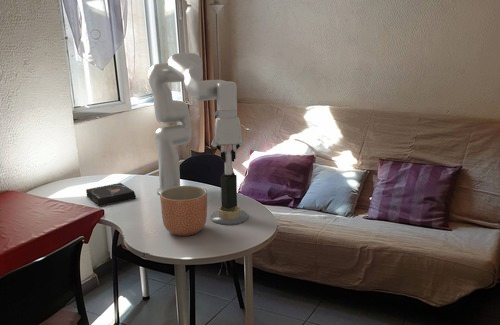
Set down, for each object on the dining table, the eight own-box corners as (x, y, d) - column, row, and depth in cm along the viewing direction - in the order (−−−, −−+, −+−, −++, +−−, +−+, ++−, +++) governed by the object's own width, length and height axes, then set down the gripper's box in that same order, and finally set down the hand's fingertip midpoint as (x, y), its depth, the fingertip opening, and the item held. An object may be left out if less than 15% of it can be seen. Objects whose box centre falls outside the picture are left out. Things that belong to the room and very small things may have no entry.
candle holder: (208, 212, 185) (207, 203, 184) (243, 209, 188) (243, 200, 187) (213, 226, 171) (213, 216, 170) (251, 222, 174) (251, 213, 173)
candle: (229, 202, 182) (228, 143, 175) (238, 205, 178) (237, 144, 172) (220, 205, 178) (218, 145, 172) (228, 209, 175) (227, 147, 168)
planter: (168, 243, 157) (166, 203, 153) (158, 226, 172) (155, 189, 168) (214, 235, 163) (213, 196, 159) (200, 219, 178) (199, 183, 174)
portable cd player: (136, 199, 203) (135, 191, 202) (98, 207, 194) (98, 198, 193) (122, 190, 216) (121, 182, 215) (87, 197, 206) (86, 189, 205)
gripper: (207, 116, 164) (208, 165, 168) (250, 114, 167) (250, 162, 172) (204, 113, 171) (206, 160, 175) (245, 112, 174) (246, 157, 179)
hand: (228, 160), depth 174 cm, fingers closed on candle, 2 cm apart
